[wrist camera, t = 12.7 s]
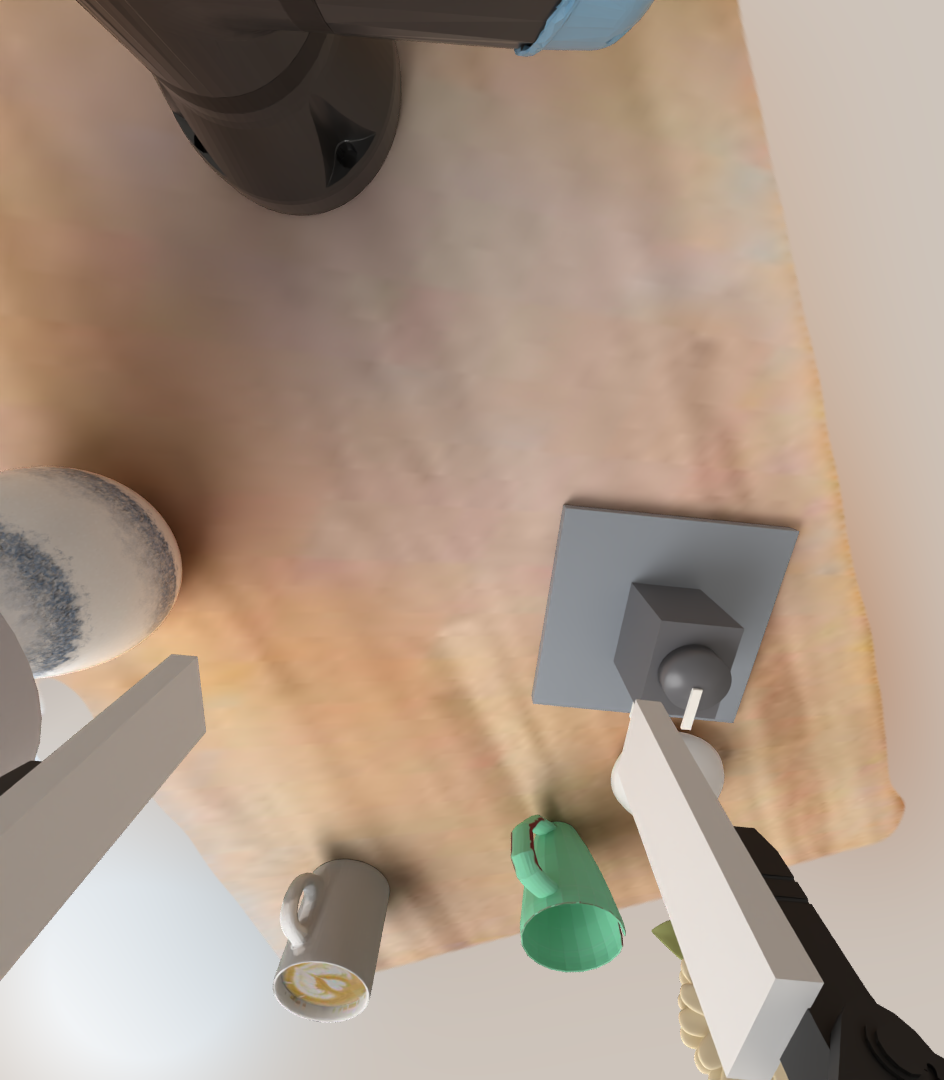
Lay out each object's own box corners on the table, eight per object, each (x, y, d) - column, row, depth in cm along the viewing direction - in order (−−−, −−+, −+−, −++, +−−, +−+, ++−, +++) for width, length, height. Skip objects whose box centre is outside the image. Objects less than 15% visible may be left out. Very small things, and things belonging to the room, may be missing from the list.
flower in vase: (731, 731, 45) (1003, 1098, 22) (692, 812, 49) (889, 1205, 25) (609, 708, 45) (750, 1058, 21) (578, 792, 48) (670, 1172, 25)
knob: (631, 582, 39) (670, 632, 31) (700, 589, 39) (758, 640, 31) (613, 661, 42) (645, 726, 34) (678, 667, 42) (725, 734, 34)
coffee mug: (401, 907, 55) (384, 1014, 45) (329, 922, 56) (298, 1029, 47) (360, 830, 51) (331, 930, 42) (283, 848, 52) (239, 949, 43)
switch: (563, 504, 38) (576, 522, 33) (790, 527, 39) (840, 548, 33) (531, 699, 45) (537, 741, 39) (725, 718, 45) (758, 762, 40)
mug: (614, 848, 51) (644, 951, 41) (540, 878, 53) (552, 984, 43) (552, 762, 47) (569, 854, 38) (475, 798, 49) (472, 894, 40)
